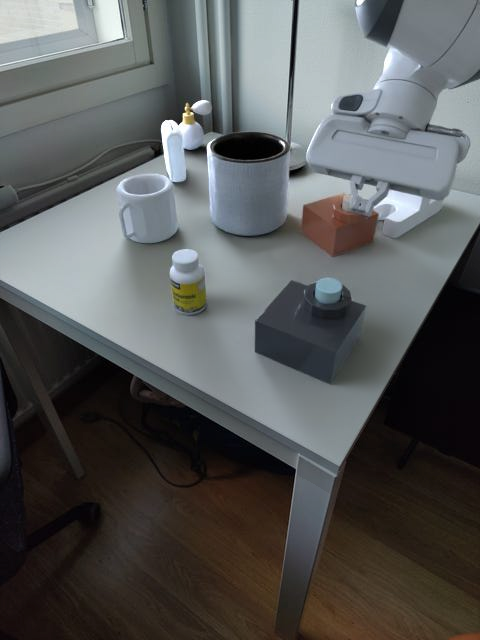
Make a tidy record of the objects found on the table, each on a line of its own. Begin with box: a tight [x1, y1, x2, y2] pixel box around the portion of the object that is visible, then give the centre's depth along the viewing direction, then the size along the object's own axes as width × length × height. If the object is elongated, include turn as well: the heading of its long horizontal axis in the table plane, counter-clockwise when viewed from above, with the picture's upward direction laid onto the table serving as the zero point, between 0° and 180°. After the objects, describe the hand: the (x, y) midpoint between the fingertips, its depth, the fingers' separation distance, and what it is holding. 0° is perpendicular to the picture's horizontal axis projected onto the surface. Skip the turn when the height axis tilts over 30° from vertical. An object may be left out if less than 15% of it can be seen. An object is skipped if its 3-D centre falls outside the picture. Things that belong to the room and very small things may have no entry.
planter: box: [206, 130, 291, 237], centre depth 92 cm, size 16×16×16 cm
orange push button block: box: [300, 192, 379, 258], centre depth 88 cm, size 11×10×8 cm
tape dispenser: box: [373, 190, 445, 239], centre depth 94 cm, size 10×18×11 cm, turn 132°
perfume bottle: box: [178, 99, 213, 151], centre depth 124 cm, size 8×10×12 cm
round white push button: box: [342, 193, 363, 212], centre depth 84 cm, size 3×3×2 cm
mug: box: [116, 173, 179, 244], centre depth 90 cm, size 14×11×10 cm
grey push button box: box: [254, 279, 367, 385], centre depth 66 cm, size 12×12×8 cm
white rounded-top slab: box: [160, 119, 187, 183], centre depth 111 cm, size 10×4×12 cm, turn 15°
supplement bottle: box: [169, 248, 208, 316], centre depth 73 cm, size 5×5×10 cm
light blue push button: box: [315, 277, 343, 304], centre depth 64 cm, size 4×4×2 cm
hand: (359, 213), depth 64 cm, fingers closed
